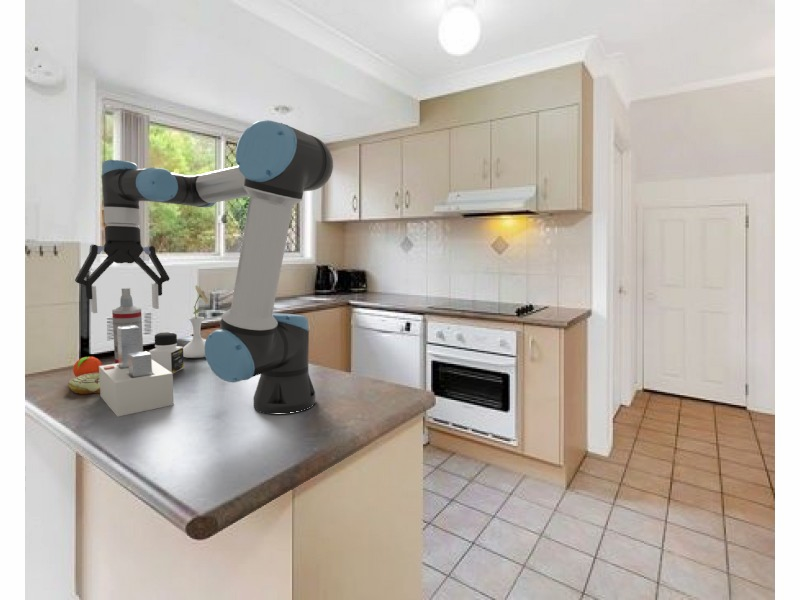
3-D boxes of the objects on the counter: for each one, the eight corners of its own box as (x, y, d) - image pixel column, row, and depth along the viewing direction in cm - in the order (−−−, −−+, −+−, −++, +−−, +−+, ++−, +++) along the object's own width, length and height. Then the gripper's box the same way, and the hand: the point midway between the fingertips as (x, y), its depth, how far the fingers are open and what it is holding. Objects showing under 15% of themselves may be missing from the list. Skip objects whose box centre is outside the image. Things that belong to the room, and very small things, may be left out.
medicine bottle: (172, 374, 135) (170, 335, 133) (149, 373, 135) (147, 334, 133) (184, 368, 142) (182, 331, 140) (162, 367, 142) (160, 330, 141)
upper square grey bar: (141, 393, 116) (138, 327, 114) (124, 397, 113) (120, 329, 111) (137, 390, 119) (134, 325, 117) (120, 393, 116) (116, 326, 114)
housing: (152, 387, 123) (150, 357, 122) (173, 404, 110) (172, 371, 109) (100, 396, 115) (98, 364, 114) (117, 416, 102) (115, 381, 101)
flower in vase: (212, 359, 153) (210, 287, 150) (176, 361, 150) (173, 287, 147) (217, 351, 165) (216, 283, 162) (184, 352, 162) (181, 283, 159)
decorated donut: (97, 397, 115) (96, 383, 114) (59, 394, 116) (58, 380, 115) (126, 384, 125) (125, 371, 124) (91, 382, 126) (90, 369, 126)
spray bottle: (125, 369, 138) (120, 289, 135) (110, 366, 142) (105, 288, 139) (148, 364, 145) (145, 287, 142) (133, 361, 149) (130, 286, 146)
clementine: (91, 385, 123) (90, 360, 122) (65, 385, 123) (63, 360, 122) (108, 377, 131) (107, 353, 130) (83, 376, 130) (82, 353, 130)
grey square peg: (153, 406, 109) (151, 354, 107) (134, 410, 106) (132, 356, 104) (148, 401, 112) (146, 351, 110) (130, 405, 109) (127, 353, 107)
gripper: (171, 228, 122) (173, 304, 125) (57, 222, 105) (63, 312, 107) (180, 228, 117) (183, 308, 119) (62, 222, 99) (68, 316, 102)
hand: (126, 310), depth 113 cm, fingers open, 13 cm apart
